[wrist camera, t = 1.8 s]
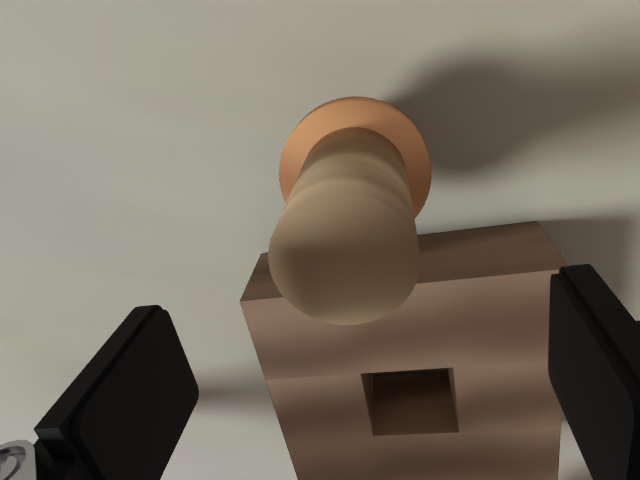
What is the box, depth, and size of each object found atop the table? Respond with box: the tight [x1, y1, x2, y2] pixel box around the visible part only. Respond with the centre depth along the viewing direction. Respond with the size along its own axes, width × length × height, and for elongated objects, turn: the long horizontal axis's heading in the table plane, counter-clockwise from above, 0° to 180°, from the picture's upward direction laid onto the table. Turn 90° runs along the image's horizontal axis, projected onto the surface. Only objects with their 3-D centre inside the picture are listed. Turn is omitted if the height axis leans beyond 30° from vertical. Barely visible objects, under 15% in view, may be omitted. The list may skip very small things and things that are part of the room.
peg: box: [268, 97, 431, 325], centre depth 19 cm, size 6×6×13 cm
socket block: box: [240, 221, 568, 480], centre depth 28 cm, size 16×16×5 cm
